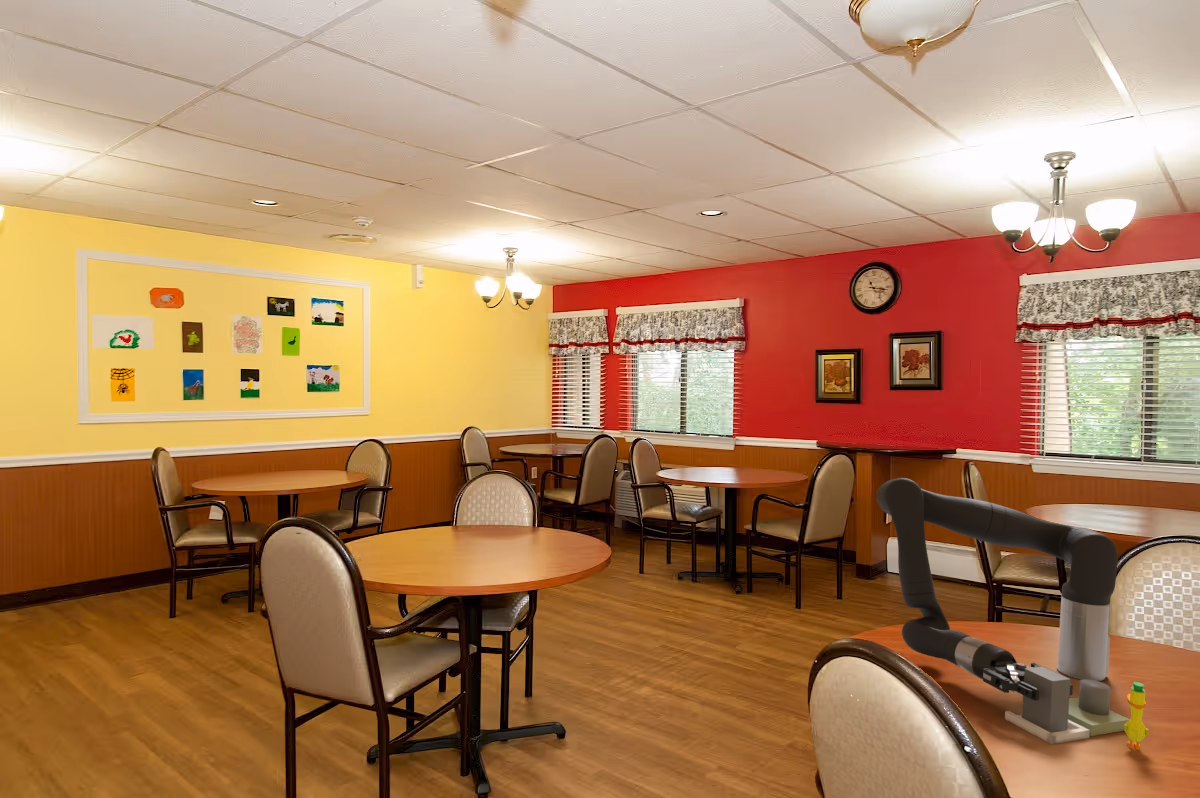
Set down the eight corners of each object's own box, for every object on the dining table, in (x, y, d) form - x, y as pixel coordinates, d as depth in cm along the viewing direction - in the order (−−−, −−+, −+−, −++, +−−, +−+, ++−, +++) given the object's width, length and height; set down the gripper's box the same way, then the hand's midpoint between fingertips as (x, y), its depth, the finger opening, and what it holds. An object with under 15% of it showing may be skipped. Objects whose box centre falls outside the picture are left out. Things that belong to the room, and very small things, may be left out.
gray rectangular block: (1039, 716, 142) (1042, 666, 142) (1067, 731, 137) (1070, 679, 136) (1021, 719, 141) (1024, 668, 141) (1049, 733, 135) (1052, 681, 135)
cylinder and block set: (1080, 706, 149) (1082, 673, 149) (1132, 730, 139) (1134, 694, 139) (1002, 717, 142) (1004, 682, 142) (1051, 744, 132) (1053, 706, 132)
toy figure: (1118, 736, 136) (1122, 673, 136) (1141, 741, 135) (1146, 677, 134) (1125, 751, 130) (1129, 686, 130) (1149, 757, 129) (1154, 691, 128)
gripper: (958, 645, 150) (1027, 677, 134) (1011, 640, 154) (1083, 670, 139) (956, 681, 150) (1025, 717, 135) (1009, 674, 155) (1081, 708, 139)
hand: (1054, 693), depth 137 cm, fingers open, 8 cm apart
